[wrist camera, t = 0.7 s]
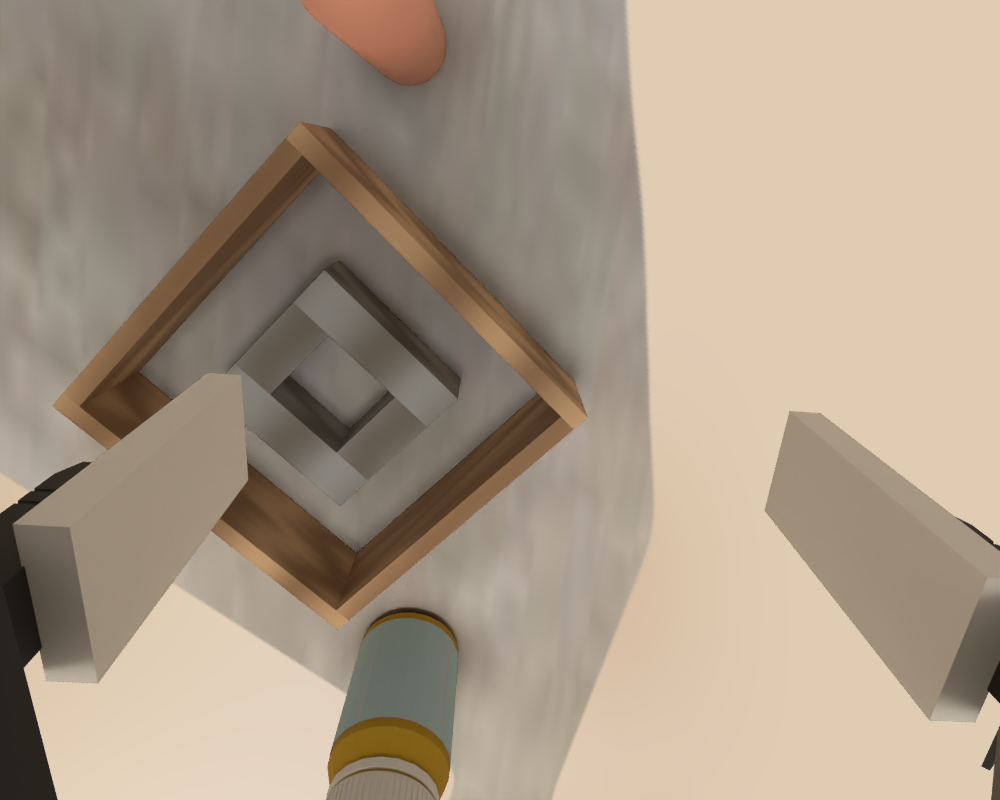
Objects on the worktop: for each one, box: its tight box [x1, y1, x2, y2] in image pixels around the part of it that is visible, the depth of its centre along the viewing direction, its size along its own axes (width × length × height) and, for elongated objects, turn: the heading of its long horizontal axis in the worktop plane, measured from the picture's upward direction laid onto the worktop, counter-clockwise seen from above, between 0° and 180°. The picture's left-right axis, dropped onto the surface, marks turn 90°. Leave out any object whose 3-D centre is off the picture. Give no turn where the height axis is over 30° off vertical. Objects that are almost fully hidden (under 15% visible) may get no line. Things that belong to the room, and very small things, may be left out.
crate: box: [52, 122, 588, 630], centre depth 37 cm, size 20×20×6 cm
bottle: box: [326, 613, 458, 800], centre depth 40 cm, size 7×7×15 cm
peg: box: [300, 0, 446, 85], centre depth 27 cm, size 4×4×14 cm
